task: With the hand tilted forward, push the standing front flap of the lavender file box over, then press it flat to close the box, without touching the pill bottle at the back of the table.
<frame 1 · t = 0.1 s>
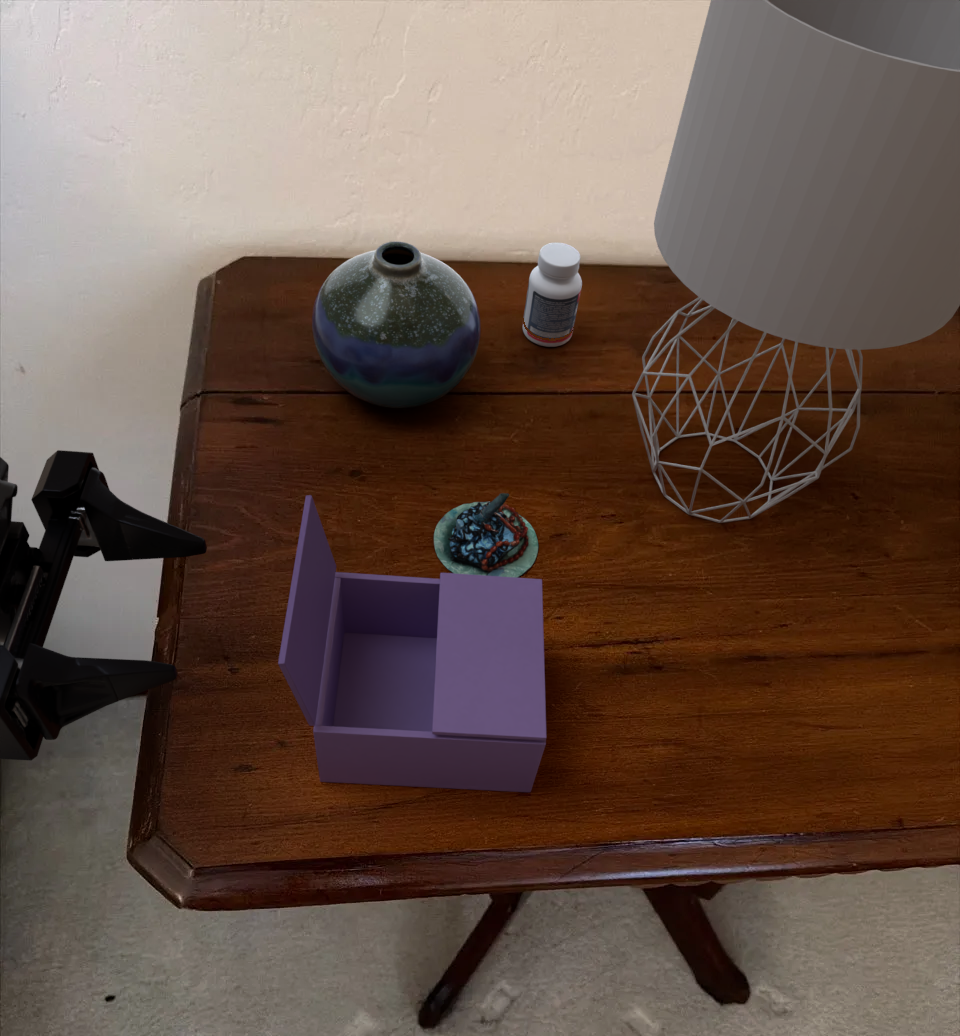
hand: (191, 606, 54), 15 cm above the table, tool horizontal, fingers open, 9 cm apart
flap: (310, 609, 58), point 12 cm above the table, hinge at 100.0°
table lamp: (711, 477, 85), on the table
vase: (396, 380, 89), on the table
pill bottle: (546, 333, 95), on the table
dish: (485, 544, 78), on the table
file box: (430, 707, 68), on the table
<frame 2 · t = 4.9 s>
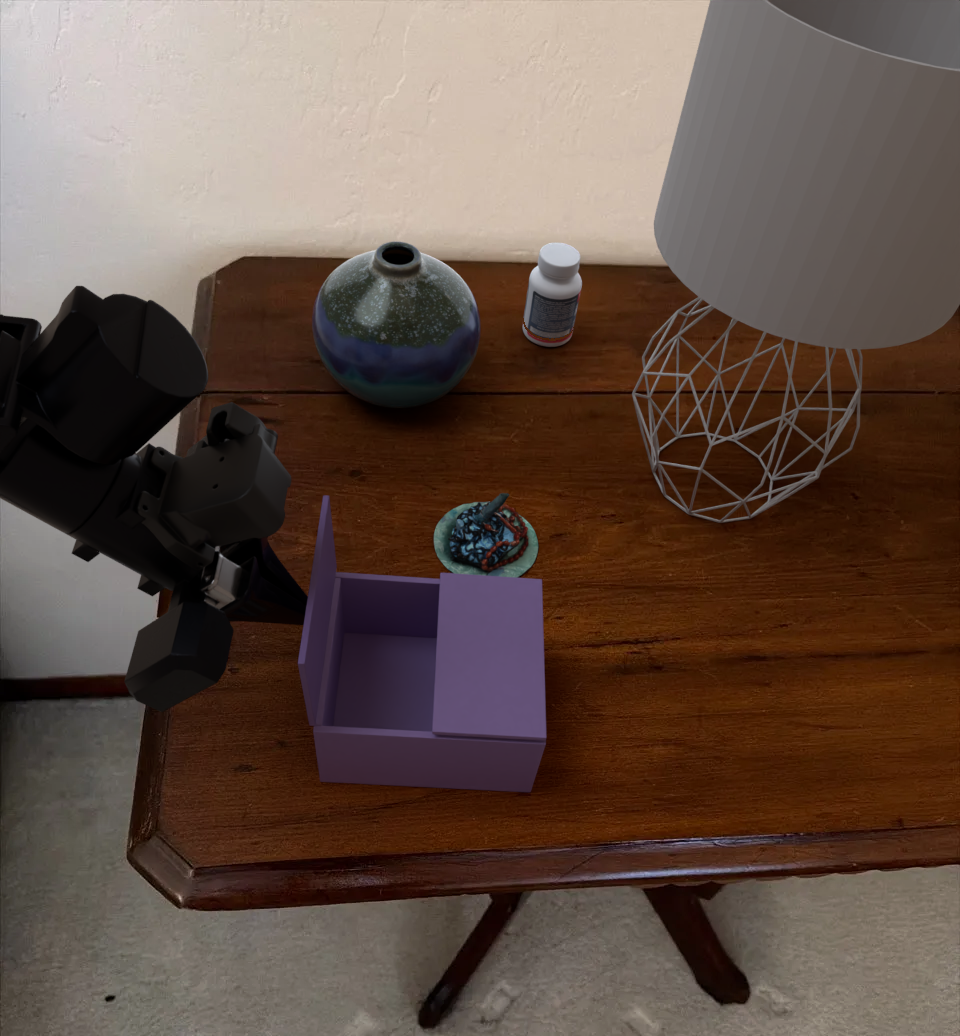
hand: (313, 618, 59), 11 cm above the table, tool tilted 45°, fingers closed, pressing on flap
flap: (319, 609, 58), point 12 cm above the table, hinge at 91.1°, touching gripper
everything else where it was.
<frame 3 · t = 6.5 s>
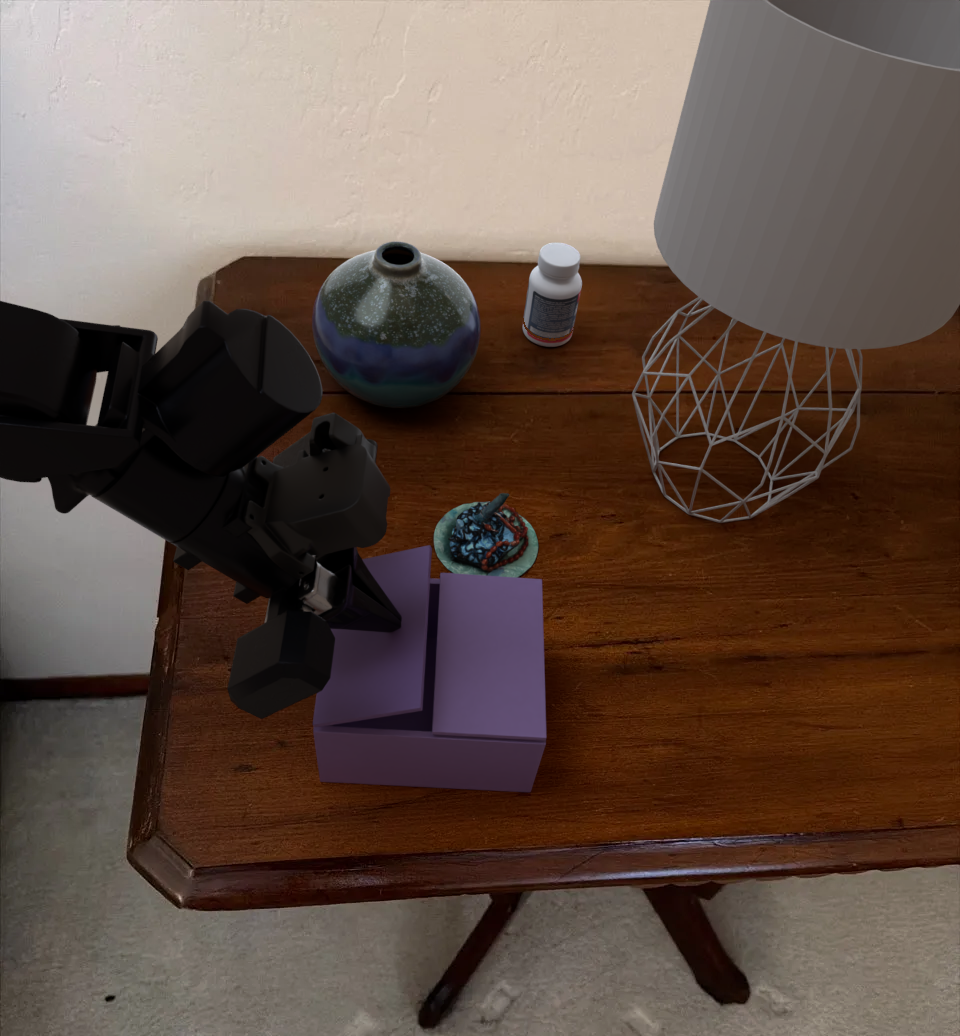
hand: (397, 625, 60), 11 cm above the table, tool tilted 45°, fingers closed, pressing on flap
flap: (374, 632, 60), point 10 cm above the table, hinge at 23.7°, touching gripper
everything else where it was.
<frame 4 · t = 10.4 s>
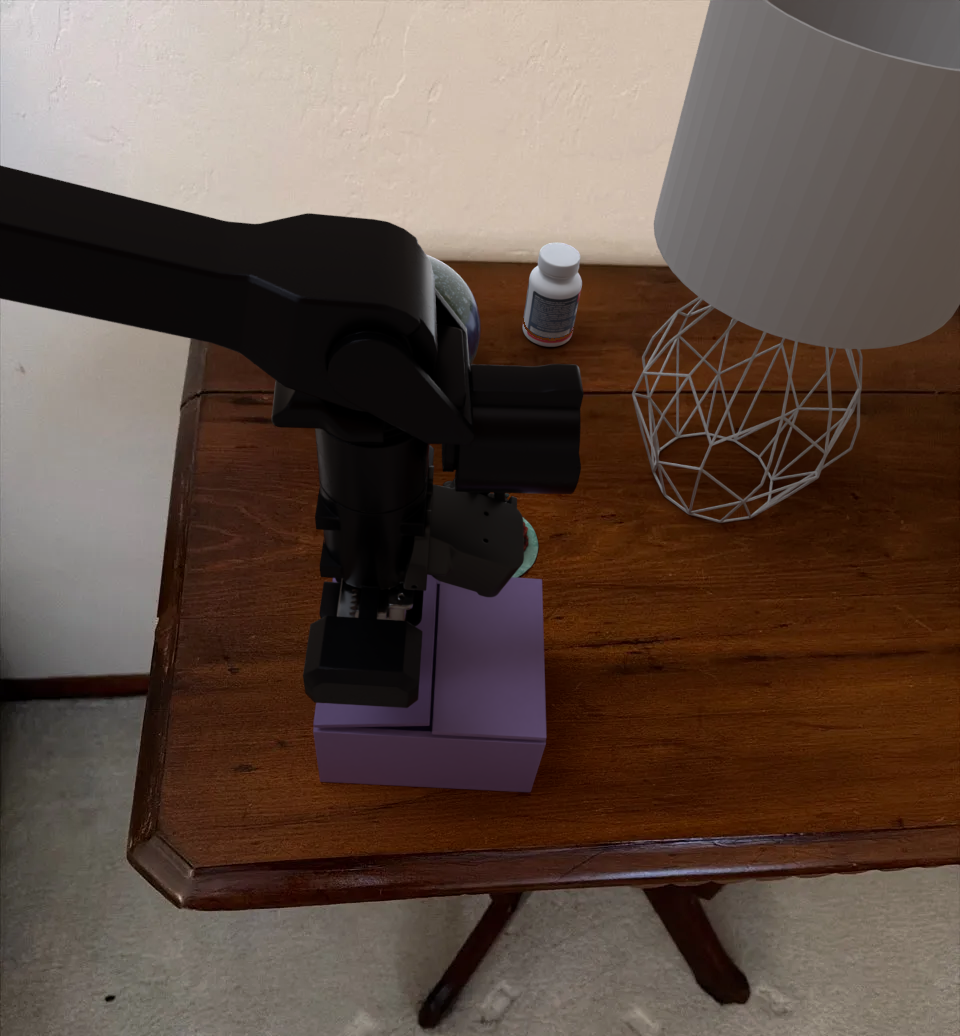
hand: (376, 638, 61), 9 cm above the table, tool pointing down, fingers closed, pressing on flap
flap: (379, 640, 61), point 9 cm above the table, hinge at 8.6°, touching gripper
everything else where it was.
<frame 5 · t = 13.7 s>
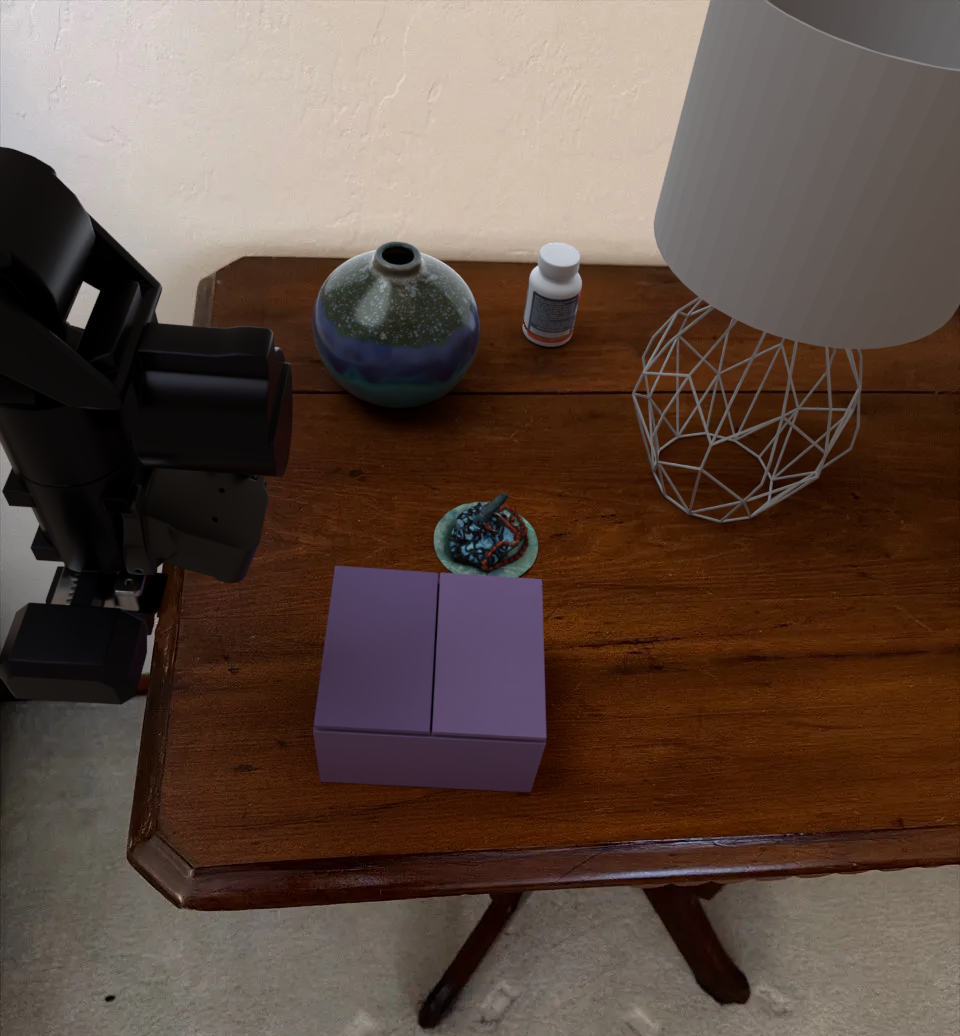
hand: (144, 630, 56), 12 cm above the table, tool pointing down, fingers closed
flap: (379, 645, 62), point 8 cm above the table, hinge at -0.3°
everything else where it was.
at the end: flap at +0° (first picture: +100°); pill bottle moved 0.2 cm from its start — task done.
